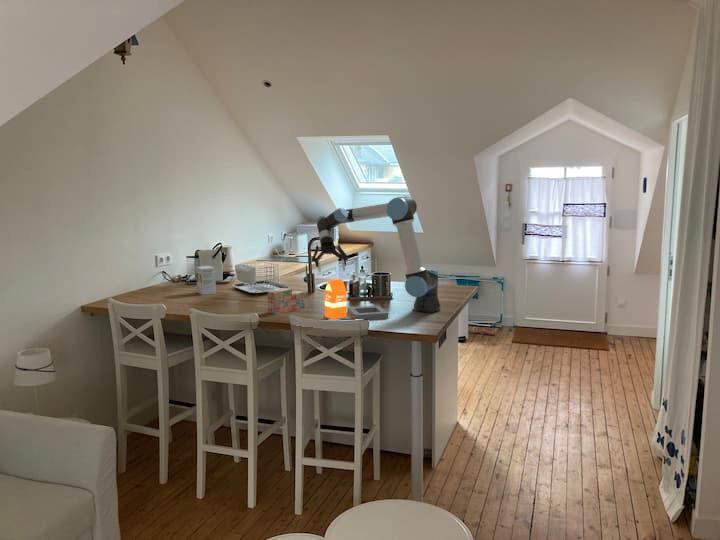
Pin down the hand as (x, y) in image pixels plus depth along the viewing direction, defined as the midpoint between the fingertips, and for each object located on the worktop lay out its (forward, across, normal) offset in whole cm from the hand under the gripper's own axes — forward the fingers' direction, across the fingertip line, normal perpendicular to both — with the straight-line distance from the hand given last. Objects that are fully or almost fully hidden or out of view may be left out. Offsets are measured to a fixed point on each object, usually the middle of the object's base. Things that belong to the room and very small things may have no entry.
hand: (332, 270), depth 323 cm
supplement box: (-35, +67, -69) cm, 102 cm away
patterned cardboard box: (+7, +24, -27) cm, 36 cm away
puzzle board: (+24, -17, -9) cm, 31 cm away
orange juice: (+24, 0, -9) cm, 26 cm away
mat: (+24, 0, -9) cm, 26 cm away
